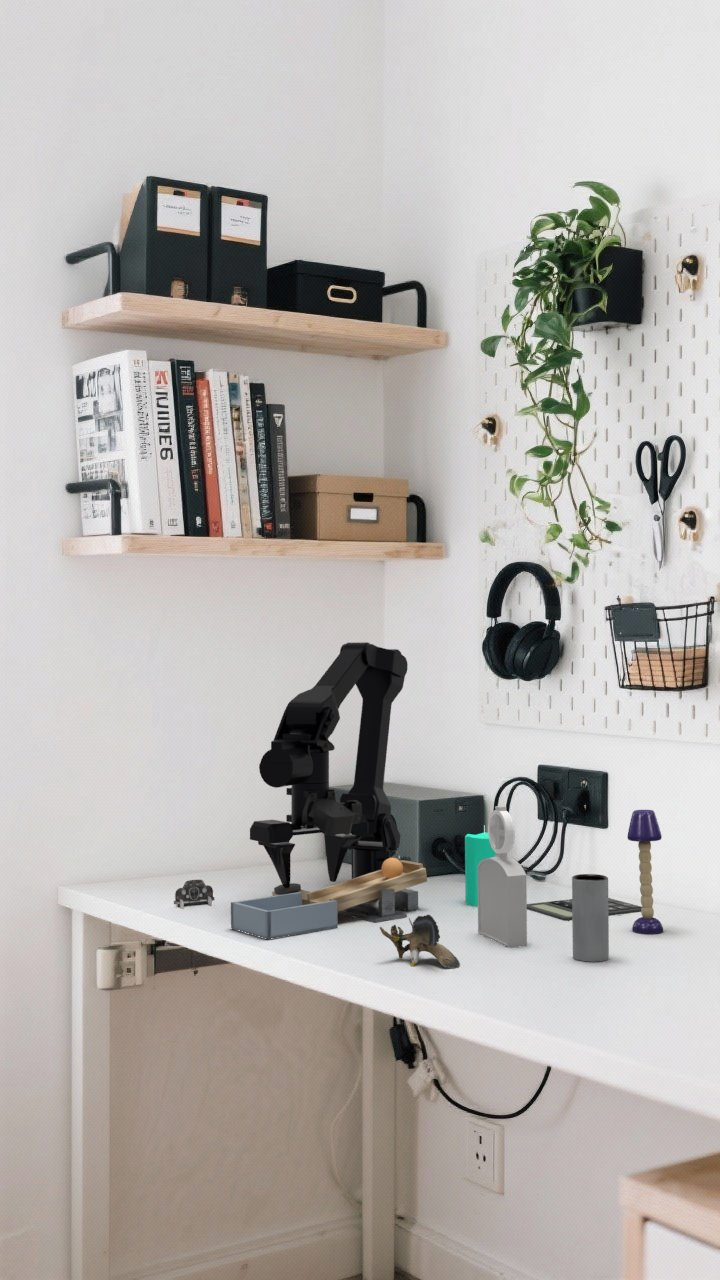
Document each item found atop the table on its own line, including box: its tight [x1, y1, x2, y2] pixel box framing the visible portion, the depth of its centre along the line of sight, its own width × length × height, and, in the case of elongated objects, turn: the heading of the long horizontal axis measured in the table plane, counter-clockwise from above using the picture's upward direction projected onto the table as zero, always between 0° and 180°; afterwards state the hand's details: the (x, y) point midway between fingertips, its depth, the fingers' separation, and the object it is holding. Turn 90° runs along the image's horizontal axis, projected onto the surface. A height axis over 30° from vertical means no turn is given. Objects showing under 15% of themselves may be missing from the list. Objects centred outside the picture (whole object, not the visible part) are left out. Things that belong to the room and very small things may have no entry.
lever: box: [271, 859, 428, 912], centre depth 207 cm, size 18×15×3 cm
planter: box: [571, 873, 610, 963], centre depth 175 cm, size 4×4×10 cm
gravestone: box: [477, 805, 528, 948], centre depth 186 cm, size 3×9×18 cm, turn 20°
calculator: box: [527, 897, 642, 922], centre depth 206 cm, size 12×1×15 cm
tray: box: [230, 892, 338, 940], centre depth 194 cm, size 9×12×4 cm
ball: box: [382, 857, 403, 879], centre depth 207 cm, size 3×3×3 cm
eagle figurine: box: [379, 914, 461, 970], centre depth 173 cm, size 8×7×9 cm
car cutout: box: [173, 879, 215, 909], centre depth 213 cm, size 15×7×4 cm, turn 117°
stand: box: [337, 888, 419, 923], centre depth 205 cm, size 11×10×4 cm
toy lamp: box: [627, 809, 664, 935], centre depth 191 cm, size 5×5×17 cm
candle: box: [464, 824, 496, 907], centre depth 212 cm, size 6×6×12 cm
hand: (309, 884), depth 209 cm, fingers open, 8 cm apart
